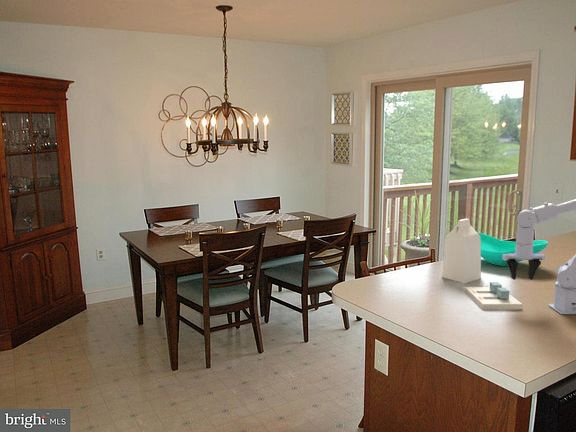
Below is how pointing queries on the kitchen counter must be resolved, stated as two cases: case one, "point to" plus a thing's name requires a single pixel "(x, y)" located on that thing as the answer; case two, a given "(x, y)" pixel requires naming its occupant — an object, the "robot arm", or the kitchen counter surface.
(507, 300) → the switch panel
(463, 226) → the milk
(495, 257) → the table top decor
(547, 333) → the kitchen counter surface
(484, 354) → the kitchen counter surface
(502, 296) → the tab
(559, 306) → the robot arm
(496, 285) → the tab
